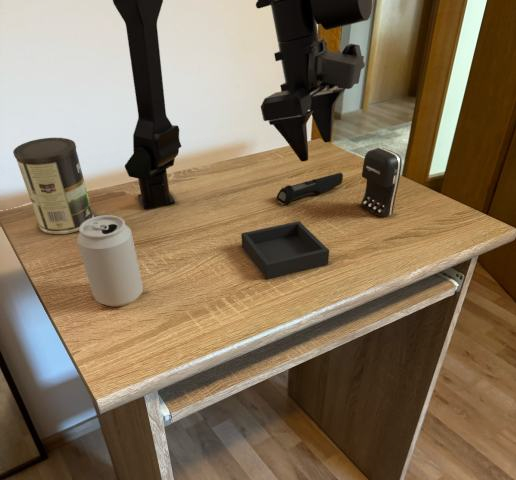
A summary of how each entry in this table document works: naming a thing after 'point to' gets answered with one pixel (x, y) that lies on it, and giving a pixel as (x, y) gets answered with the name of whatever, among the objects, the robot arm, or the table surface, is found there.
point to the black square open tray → (284, 249)
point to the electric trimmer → (309, 188)
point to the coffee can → (54, 184)
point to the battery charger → (381, 180)
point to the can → (110, 260)
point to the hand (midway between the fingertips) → (316, 151)
